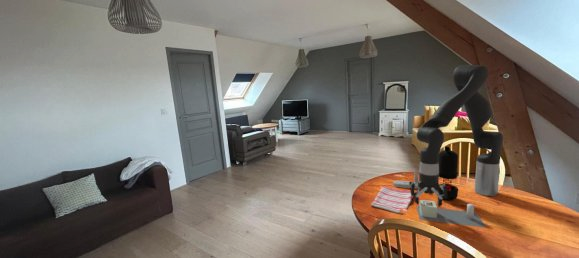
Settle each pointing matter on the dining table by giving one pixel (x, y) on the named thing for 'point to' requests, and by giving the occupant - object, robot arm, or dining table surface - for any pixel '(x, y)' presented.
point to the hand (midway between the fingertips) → (428, 204)
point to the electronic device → (406, 182)
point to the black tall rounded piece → (448, 171)
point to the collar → (428, 209)
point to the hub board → (455, 216)
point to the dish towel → (392, 200)
